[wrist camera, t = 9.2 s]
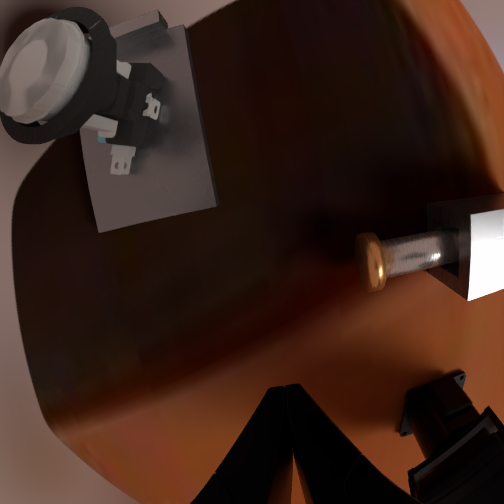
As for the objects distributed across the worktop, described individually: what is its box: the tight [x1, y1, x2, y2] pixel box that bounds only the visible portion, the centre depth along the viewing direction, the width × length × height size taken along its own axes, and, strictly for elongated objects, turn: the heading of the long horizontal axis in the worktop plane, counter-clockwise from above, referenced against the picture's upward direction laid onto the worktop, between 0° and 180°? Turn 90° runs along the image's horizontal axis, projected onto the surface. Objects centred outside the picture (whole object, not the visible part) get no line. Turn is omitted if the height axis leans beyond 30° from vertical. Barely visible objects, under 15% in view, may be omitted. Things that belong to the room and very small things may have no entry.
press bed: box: [80, 10, 219, 233], centre depth 15 cm, size 12×8×3 cm, turn 11°
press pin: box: [354, 227, 459, 292], centre depth 16 cm, size 3×9×3 cm, turn 101°
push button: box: [0, 7, 164, 175], centre depth 11 cm, size 7×5×10 cm
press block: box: [426, 193, 504, 301], centre depth 15 cm, size 5×8×5 cm, turn 101°
